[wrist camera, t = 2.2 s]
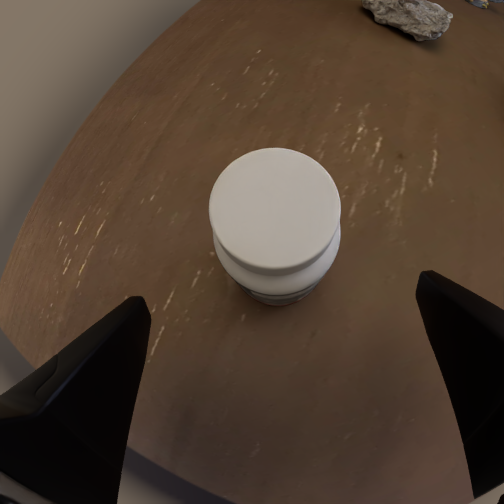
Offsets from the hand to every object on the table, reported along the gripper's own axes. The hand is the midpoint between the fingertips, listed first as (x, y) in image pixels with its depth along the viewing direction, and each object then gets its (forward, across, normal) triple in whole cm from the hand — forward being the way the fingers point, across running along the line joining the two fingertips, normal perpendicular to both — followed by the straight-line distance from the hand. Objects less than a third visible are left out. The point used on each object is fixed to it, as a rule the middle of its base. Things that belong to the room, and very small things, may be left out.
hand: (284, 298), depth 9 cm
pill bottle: (+10, 0, +5) cm, 11 cm away
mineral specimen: (+32, -20, -17) cm, 41 cm away
